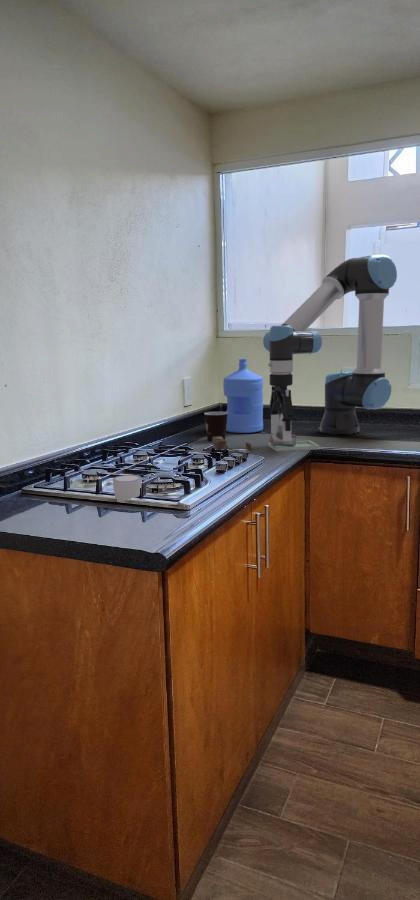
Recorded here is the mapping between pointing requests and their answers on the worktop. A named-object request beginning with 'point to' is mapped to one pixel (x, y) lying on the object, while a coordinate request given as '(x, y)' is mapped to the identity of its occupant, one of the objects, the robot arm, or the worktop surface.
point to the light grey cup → (126, 487)
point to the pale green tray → (297, 446)
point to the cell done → (280, 442)
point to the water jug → (244, 400)
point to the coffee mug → (215, 424)
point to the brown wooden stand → (221, 444)
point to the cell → (280, 428)
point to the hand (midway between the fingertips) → (280, 436)
